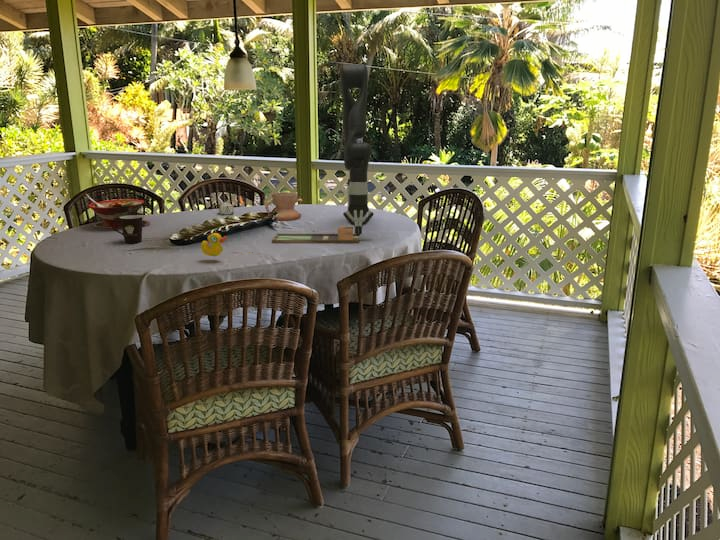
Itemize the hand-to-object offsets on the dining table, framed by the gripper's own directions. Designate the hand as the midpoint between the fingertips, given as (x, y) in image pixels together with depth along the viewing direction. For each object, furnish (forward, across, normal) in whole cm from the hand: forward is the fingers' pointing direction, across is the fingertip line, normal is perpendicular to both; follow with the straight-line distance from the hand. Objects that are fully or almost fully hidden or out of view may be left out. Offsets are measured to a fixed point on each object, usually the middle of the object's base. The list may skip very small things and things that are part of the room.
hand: (358, 235), depth 237 cm
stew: (+2, +109, -26) cm, 112 cm away
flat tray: (+2, +17, 0) cm, 17 cm away
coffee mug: (+2, +93, +3) cm, 93 cm away
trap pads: (+2, +17, 0) cm, 17 cm away
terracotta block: (+2, +5, 0) cm, 5 cm away
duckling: (+2, +52, +29) cm, 60 cm away
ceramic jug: (+2, +35, -42) cm, 55 cm away
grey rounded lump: (+2, +65, -51) cm, 83 cm away
